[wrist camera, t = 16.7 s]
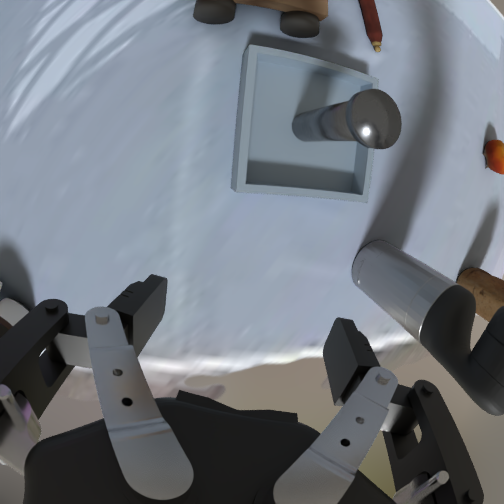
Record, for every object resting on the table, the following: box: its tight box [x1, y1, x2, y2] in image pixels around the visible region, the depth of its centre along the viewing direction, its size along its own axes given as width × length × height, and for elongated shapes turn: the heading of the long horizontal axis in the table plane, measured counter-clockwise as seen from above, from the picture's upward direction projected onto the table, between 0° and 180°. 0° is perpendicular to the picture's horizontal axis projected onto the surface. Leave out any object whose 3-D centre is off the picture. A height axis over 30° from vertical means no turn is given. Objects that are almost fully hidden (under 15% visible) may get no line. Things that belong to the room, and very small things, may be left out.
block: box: [457, 268, 504, 322], centre depth 45 cm, size 11×8×20 cm
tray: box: [231, 45, 378, 203], centre depth 32 cm, size 18×18×4 cm
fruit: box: [483, 140, 504, 174], centre depth 41 cm, size 8×8×8 cm
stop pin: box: [292, 89, 401, 149], centre depth 26 cm, size 5×5×15 cm
